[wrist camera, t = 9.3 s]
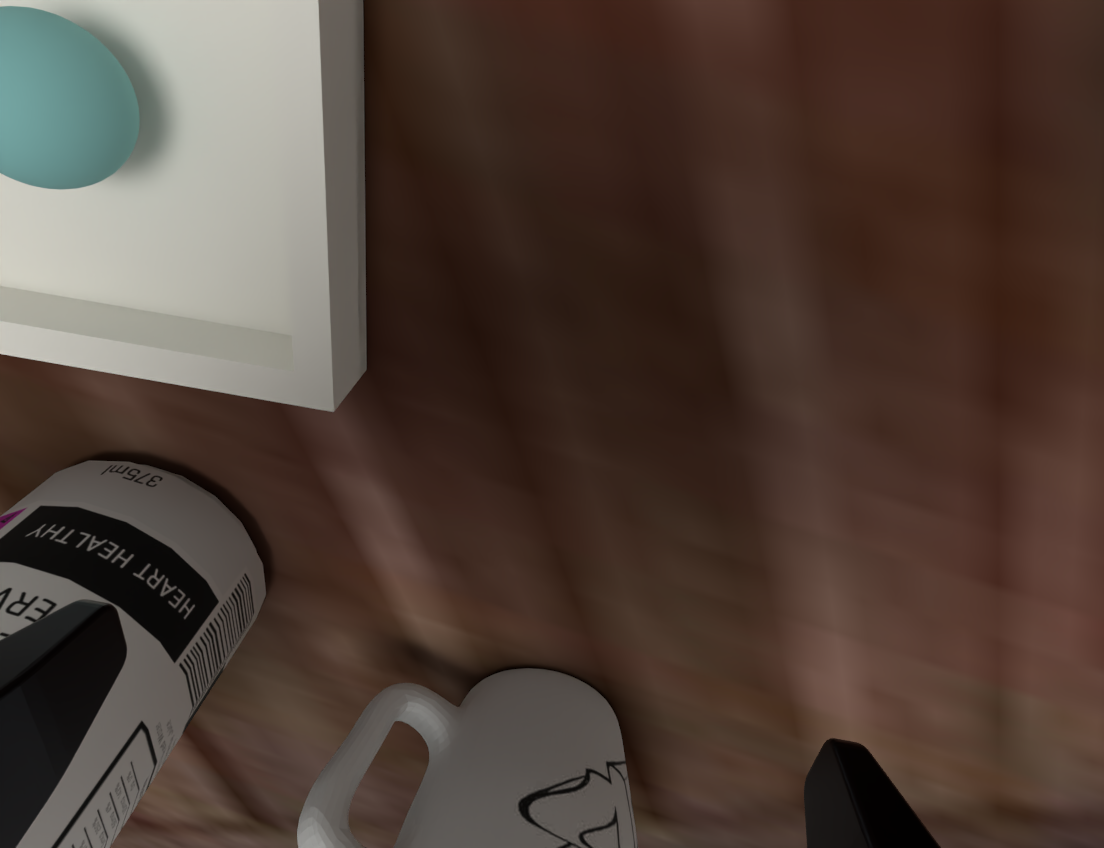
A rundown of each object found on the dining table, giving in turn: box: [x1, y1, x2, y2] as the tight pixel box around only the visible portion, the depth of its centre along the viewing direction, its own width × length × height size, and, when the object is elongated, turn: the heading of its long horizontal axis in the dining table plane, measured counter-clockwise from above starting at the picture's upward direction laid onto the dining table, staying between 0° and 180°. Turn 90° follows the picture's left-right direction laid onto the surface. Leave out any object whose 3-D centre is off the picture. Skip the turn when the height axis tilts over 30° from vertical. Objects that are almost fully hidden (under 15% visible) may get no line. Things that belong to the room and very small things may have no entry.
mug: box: [297, 668, 638, 848], centre depth 23 cm, size 11×8×10 cm
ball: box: [0, 6, 140, 190], centre depth 15 cm, size 4×4×4 cm
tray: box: [0, 0, 367, 412], centre depth 16 cm, size 13×13×2 cm
